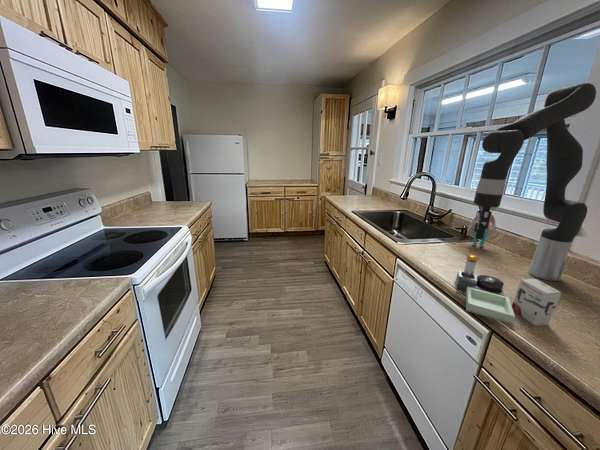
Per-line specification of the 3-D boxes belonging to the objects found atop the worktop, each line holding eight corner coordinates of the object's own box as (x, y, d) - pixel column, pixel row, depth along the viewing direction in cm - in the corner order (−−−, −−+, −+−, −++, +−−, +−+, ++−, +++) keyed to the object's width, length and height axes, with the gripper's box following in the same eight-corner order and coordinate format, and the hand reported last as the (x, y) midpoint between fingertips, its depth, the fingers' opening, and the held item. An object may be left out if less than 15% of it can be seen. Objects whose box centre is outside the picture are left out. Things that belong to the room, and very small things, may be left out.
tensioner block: (498, 289, 94) (502, 276, 92) (502, 302, 86) (506, 288, 84) (456, 278, 101) (459, 266, 99) (455, 289, 93) (459, 277, 91)
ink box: (509, 308, 82) (519, 278, 79) (522, 308, 83) (533, 277, 79) (535, 326, 74) (547, 293, 71) (549, 325, 75) (562, 292, 71)
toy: (492, 247, 135) (507, 194, 126) (492, 252, 128) (508, 196, 119) (464, 241, 143) (476, 191, 134) (462, 246, 136) (475, 193, 127)
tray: (506, 304, 84) (508, 297, 84) (512, 324, 75) (515, 316, 74) (465, 293, 90) (467, 286, 90) (466, 310, 81) (468, 303, 80)
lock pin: (471, 279, 95) (477, 255, 92) (472, 282, 92) (478, 259, 89) (461, 276, 97) (467, 253, 94) (461, 280, 94) (467, 256, 91)
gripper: (506, 196, 76) (492, 243, 81) (500, 190, 88) (488, 232, 93) (477, 193, 80) (466, 239, 85) (475, 188, 92) (465, 228, 97)
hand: (477, 235), depth 89 cm, fingers open, 8 cm apart
